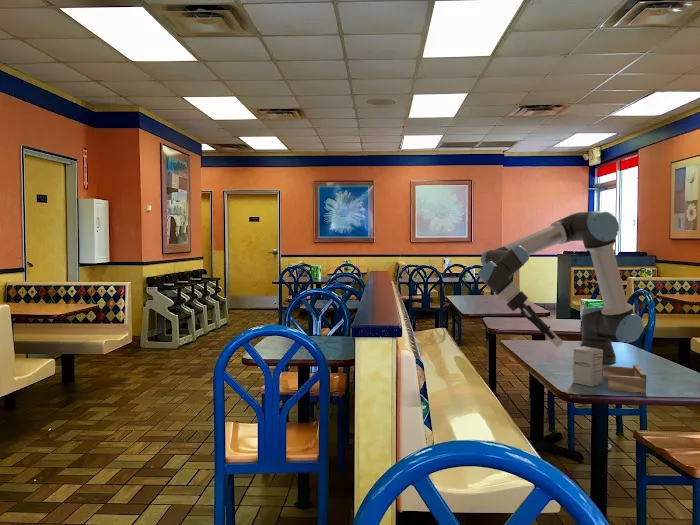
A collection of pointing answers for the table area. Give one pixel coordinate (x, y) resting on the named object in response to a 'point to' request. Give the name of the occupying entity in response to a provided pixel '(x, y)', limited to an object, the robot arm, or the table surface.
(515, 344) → the table surface
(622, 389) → the brown wooden frame
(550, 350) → the table surface
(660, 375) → the table surface
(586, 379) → the supplement box
